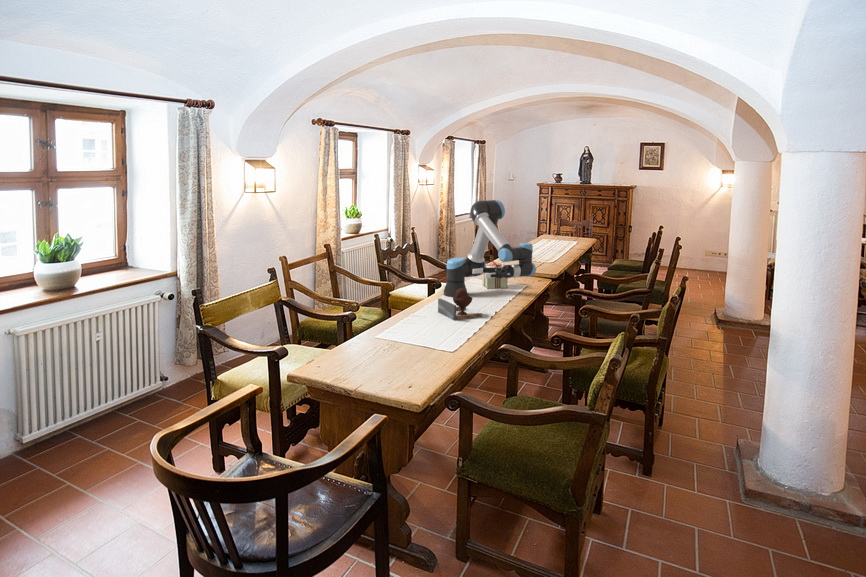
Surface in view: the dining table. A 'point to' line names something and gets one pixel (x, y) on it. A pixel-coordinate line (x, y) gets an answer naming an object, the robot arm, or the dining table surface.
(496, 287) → the gift box
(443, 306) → the frame
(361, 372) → the dining table surface
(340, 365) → the dining table surface
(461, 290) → the ice cream bowl
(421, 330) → the dining table surface
